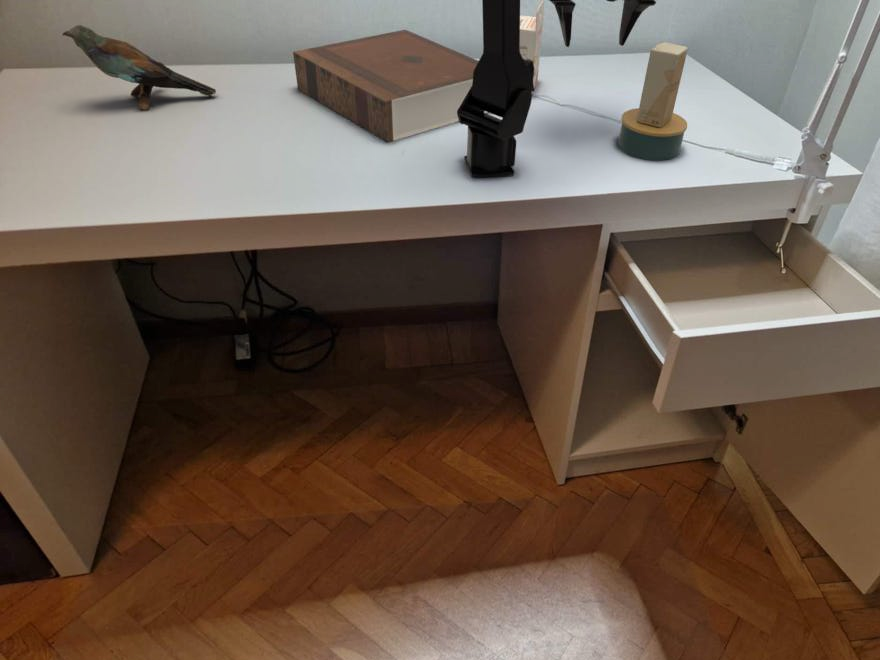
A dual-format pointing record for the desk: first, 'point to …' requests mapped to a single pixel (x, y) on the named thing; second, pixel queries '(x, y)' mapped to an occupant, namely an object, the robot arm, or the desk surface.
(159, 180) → the desk surface
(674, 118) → the tin
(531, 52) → the ink cartridge box
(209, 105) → the desk surface
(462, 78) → the book
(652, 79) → the box
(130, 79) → the bird figurine
